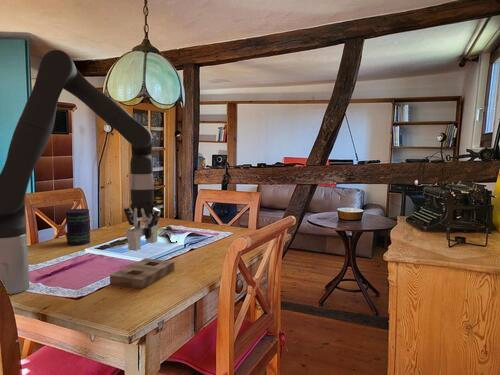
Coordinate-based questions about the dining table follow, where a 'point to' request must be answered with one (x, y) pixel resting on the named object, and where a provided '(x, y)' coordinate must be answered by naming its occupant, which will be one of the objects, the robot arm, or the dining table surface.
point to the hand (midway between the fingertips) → (143, 238)
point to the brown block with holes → (142, 273)
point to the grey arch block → (138, 232)
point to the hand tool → (169, 228)
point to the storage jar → (77, 227)
